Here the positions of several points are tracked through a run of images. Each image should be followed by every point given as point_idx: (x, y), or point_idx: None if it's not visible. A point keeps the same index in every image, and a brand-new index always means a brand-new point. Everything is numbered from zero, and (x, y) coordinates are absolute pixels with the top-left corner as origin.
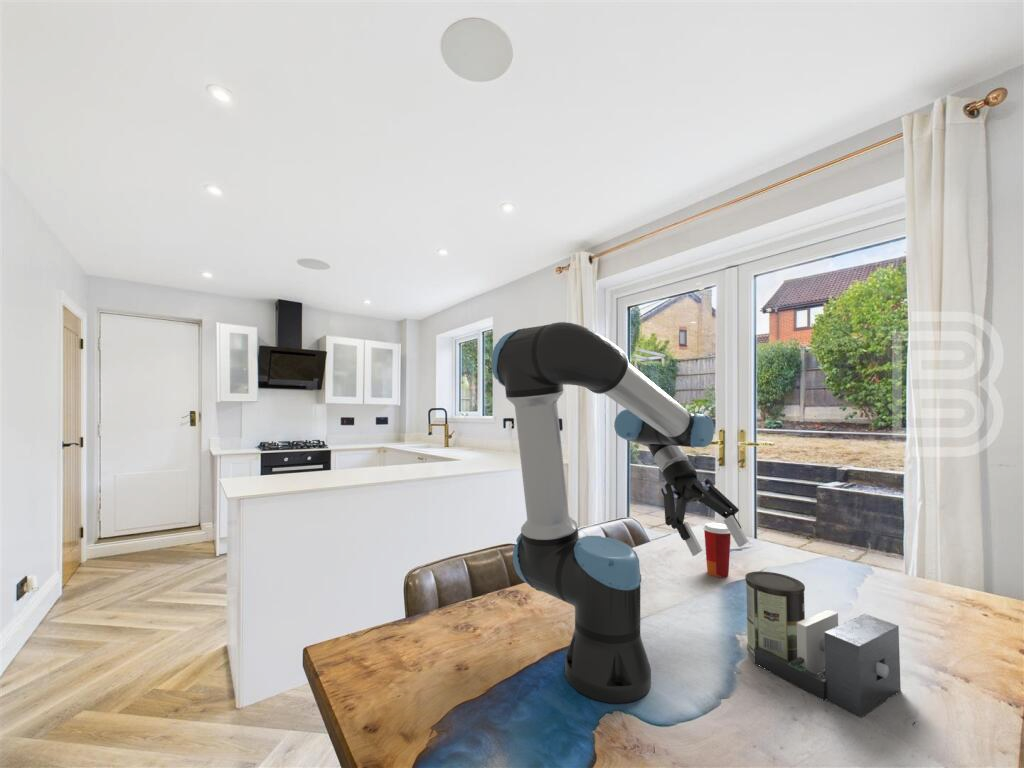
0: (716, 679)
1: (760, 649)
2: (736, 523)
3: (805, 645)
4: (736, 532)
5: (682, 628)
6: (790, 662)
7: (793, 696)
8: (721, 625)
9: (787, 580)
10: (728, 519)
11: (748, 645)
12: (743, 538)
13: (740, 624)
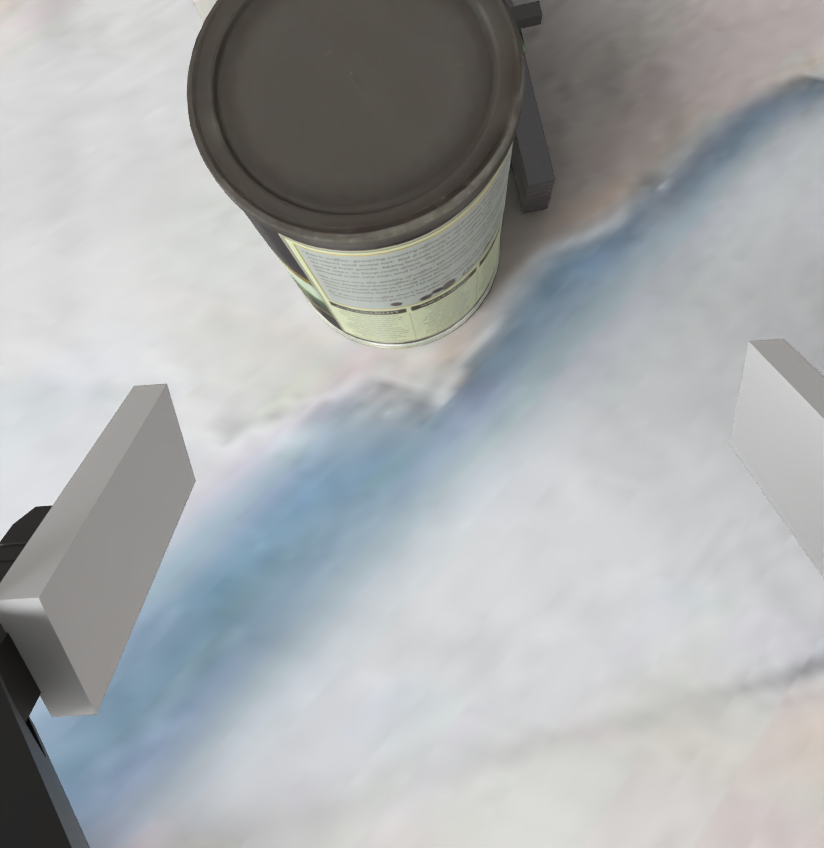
0: (765, 168)
1: (541, 161)
2: (69, 510)
3: None
4: (141, 495)
5: (643, 523)
6: (541, 17)
7: (572, 32)
8: (441, 492)
9: (259, 67)
10: (77, 625)
11: (484, 292)
12: (155, 411)
13: (347, 474)
